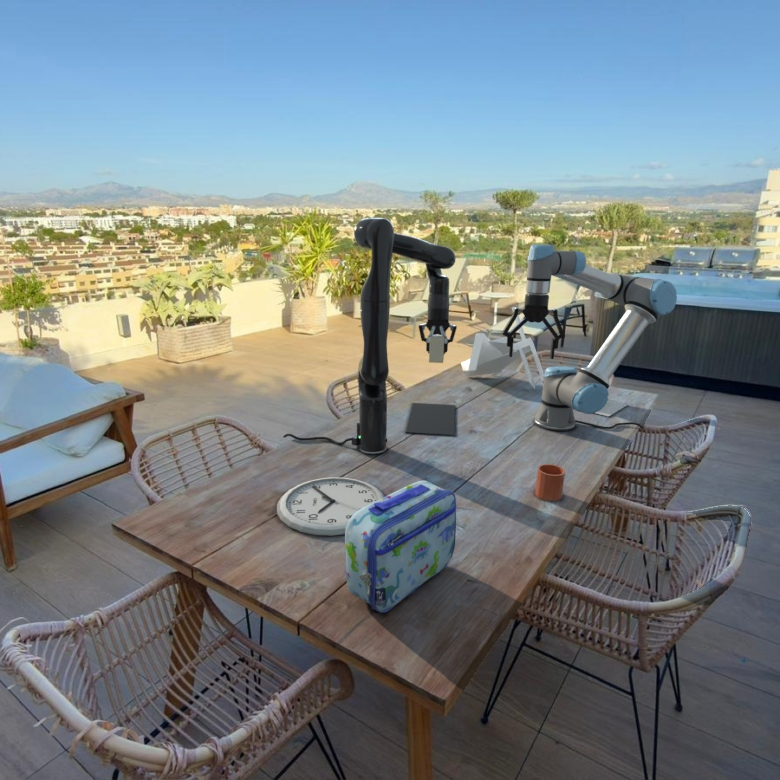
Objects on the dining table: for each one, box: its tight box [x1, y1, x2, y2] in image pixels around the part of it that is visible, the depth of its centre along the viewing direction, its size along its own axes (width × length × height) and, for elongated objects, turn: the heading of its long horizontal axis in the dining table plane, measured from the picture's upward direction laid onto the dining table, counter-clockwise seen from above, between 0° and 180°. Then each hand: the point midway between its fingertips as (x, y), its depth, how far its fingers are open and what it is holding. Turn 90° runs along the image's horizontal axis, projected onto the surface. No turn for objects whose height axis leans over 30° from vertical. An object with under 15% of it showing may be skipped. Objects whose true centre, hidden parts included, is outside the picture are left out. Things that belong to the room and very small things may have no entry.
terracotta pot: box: [534, 463, 566, 502], centre depth 149 cm, size 7×7×8 cm
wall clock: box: [276, 476, 386, 537], centre depth 143 cm, size 30×2×30 cm
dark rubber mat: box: [405, 402, 456, 437], centre depth 209 cm, size 18×34×1 cm, turn 173°
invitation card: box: [594, 399, 628, 418], centre depth 226 cm, size 21×1×15 cm
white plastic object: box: [460, 306, 545, 390], centre depth 260 cm, size 37×45×31 cm
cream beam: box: [428, 331, 447, 364], centre depth 197 cm, size 5×26×9 cm, turn 172°
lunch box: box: [344, 480, 457, 614], centre depth 109 cm, size 26×11×21 cm, turn 135°
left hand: (436, 352), depth 190 cm, fingers closed on cream beam, 5 cm apart
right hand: (530, 357), depth 176 cm, fingers open, 13 cm apart
